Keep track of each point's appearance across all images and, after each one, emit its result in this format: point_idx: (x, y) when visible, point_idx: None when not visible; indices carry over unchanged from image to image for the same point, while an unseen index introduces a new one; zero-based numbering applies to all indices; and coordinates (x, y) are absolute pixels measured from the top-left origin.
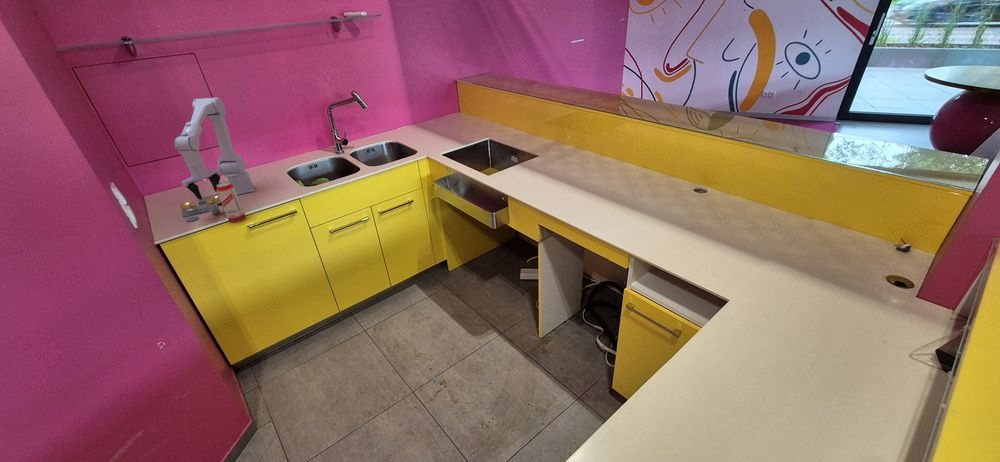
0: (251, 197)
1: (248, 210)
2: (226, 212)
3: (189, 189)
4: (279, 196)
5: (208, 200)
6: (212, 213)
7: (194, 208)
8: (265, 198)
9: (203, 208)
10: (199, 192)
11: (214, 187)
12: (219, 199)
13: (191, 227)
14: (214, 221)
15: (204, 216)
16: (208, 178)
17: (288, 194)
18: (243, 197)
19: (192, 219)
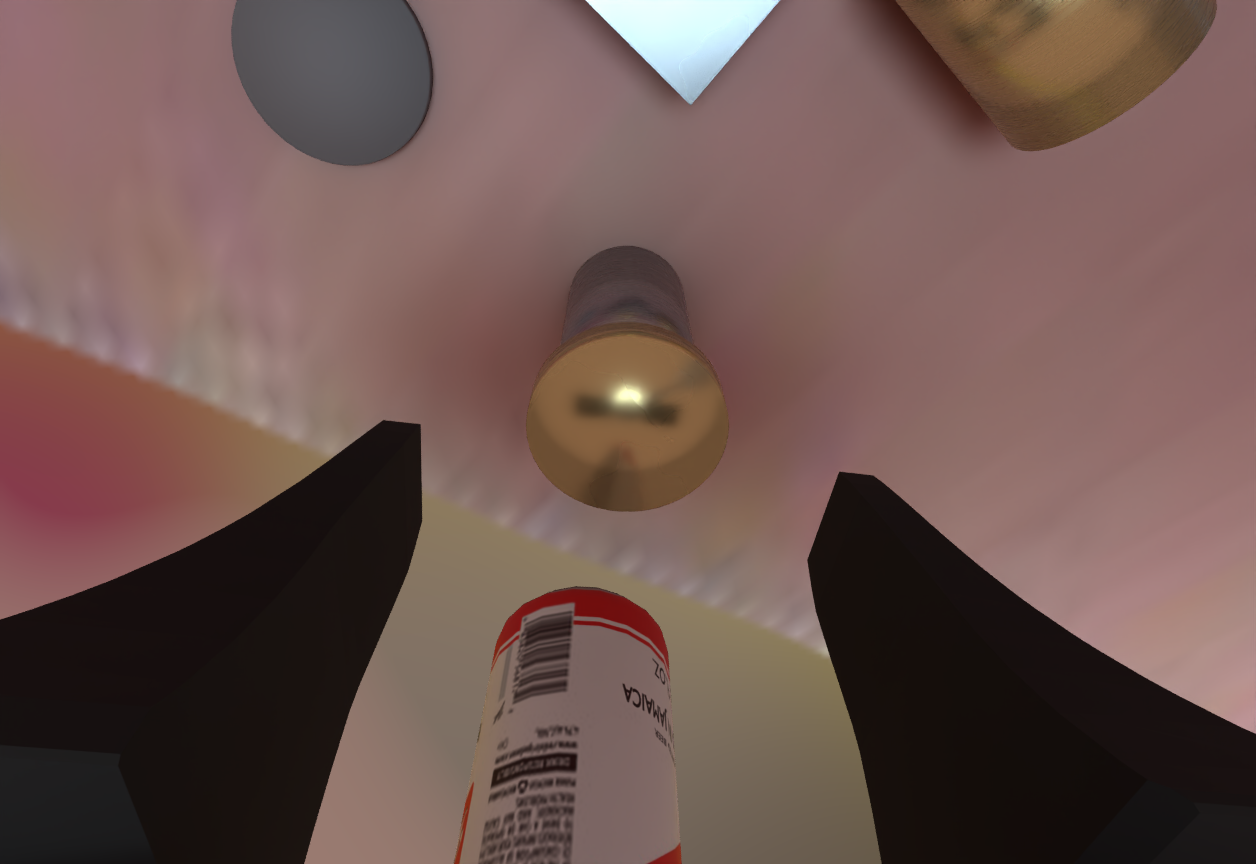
0: (1218, 356)
1: (792, 597)
2: (479, 733)
3: (120, 592)
4: (1178, 651)
5: (588, 408)
6: (567, 305)
7: None
8: (1141, 553)
9: (622, 32)
10: (346, 696)
11: (869, 581)
12: (991, 101)
13: (186, 302)
14: (444, 454)
15: (499, 174)
16: (1075, 732)
17: (1220, 696)
18: (1249, 224)
19: (317, 97)
